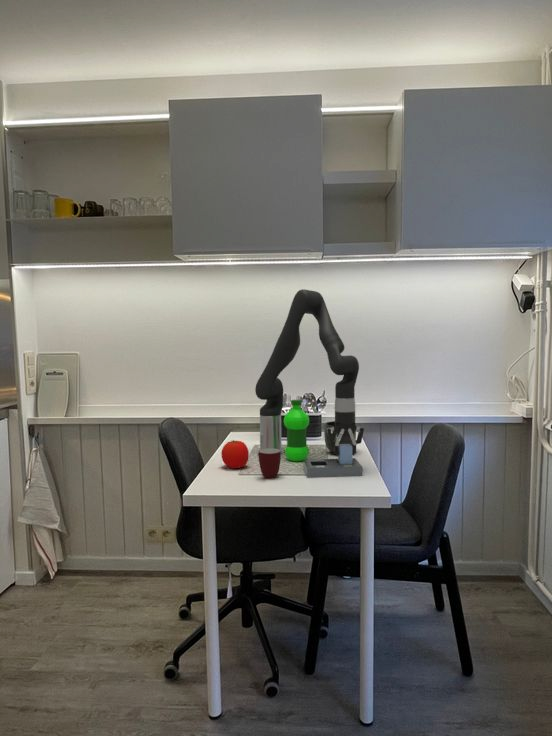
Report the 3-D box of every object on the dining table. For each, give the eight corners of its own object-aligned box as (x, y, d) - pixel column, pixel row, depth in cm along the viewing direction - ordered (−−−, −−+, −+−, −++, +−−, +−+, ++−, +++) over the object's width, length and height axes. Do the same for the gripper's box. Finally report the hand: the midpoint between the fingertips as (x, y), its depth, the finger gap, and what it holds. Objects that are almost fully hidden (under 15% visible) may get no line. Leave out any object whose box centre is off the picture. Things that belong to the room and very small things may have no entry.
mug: (261, 472, 187) (261, 446, 186) (283, 473, 186) (282, 446, 185) (257, 481, 177) (256, 453, 176) (279, 481, 176) (279, 453, 175)
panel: (307, 479, 178) (307, 467, 178) (303, 470, 190) (303, 459, 190) (362, 477, 179) (362, 466, 179) (355, 468, 191) (355, 457, 191)
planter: (328, 448, 225) (328, 420, 224) (359, 450, 220) (359, 421, 219) (320, 455, 212) (320, 425, 211) (352, 458, 207) (352, 427, 206)
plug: (340, 473, 183) (340, 446, 182) (338, 470, 187) (337, 444, 186) (352, 473, 183) (352, 446, 182) (349, 470, 187) (349, 443, 187)
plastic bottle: (302, 465, 197) (301, 402, 195) (279, 462, 203) (278, 401, 201) (314, 459, 205) (313, 399, 204) (292, 456, 211) (291, 398, 209)
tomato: (250, 463, 200) (249, 437, 200) (247, 471, 190) (246, 443, 189) (224, 463, 201) (223, 437, 200) (219, 471, 191) (219, 443, 190)
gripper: (327, 411, 179) (327, 458, 180) (366, 410, 180) (366, 457, 181) (324, 408, 187) (324, 453, 188) (361, 407, 188) (361, 452, 189)
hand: (345, 454), depth 185 cm, fingers open, 5 cm apart
